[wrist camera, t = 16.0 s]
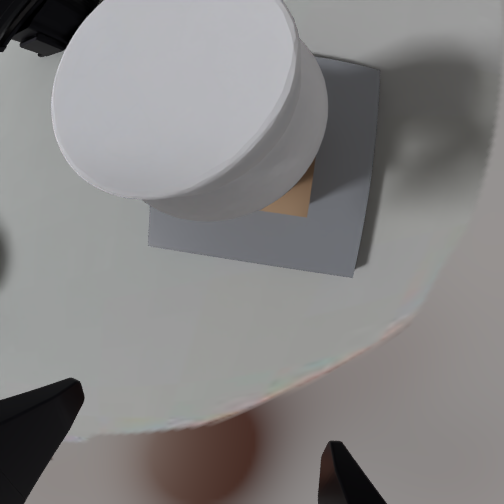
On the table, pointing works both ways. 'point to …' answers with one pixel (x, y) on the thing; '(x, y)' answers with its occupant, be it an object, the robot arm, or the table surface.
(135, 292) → the table surface
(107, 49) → the pill bottle
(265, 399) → the table surface
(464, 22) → the table surface
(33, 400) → the robot arm
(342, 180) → the base plate
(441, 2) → the table surface
